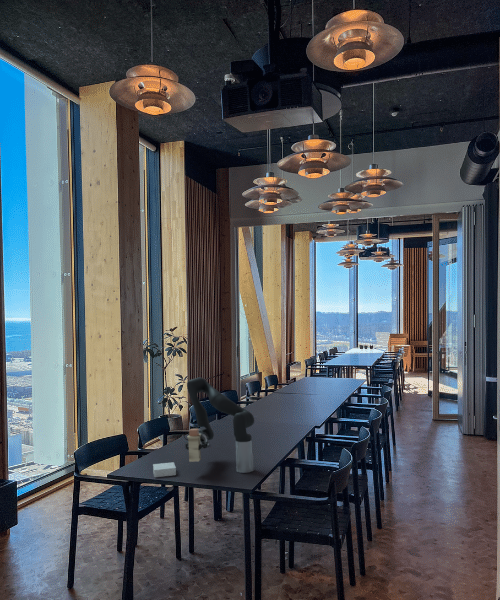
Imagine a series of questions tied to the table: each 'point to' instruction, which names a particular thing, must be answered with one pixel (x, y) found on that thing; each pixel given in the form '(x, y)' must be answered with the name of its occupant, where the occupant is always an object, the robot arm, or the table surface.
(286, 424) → the table surface
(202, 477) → the table surface
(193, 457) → the beige rectangular pillar
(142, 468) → the table surface
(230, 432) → the table surface
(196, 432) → the block
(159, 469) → the block
